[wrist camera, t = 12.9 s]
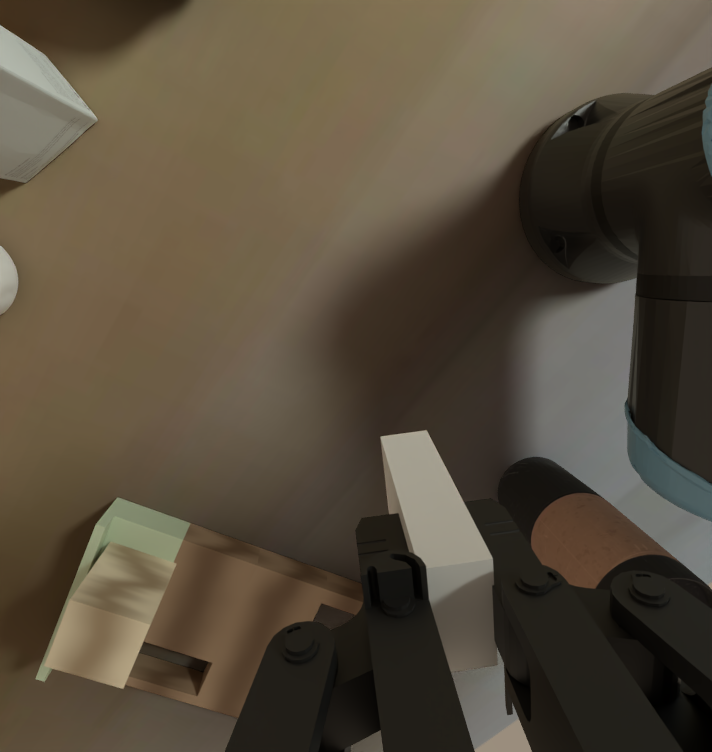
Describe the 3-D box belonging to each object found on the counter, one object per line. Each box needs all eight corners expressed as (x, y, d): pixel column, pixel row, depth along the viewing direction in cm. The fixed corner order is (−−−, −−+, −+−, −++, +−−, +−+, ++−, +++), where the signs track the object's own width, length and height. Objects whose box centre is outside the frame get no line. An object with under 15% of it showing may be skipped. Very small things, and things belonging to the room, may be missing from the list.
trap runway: (390, 593, 53) (394, 613, 50) (326, 718, 55) (327, 743, 52) (190, 523, 49) (183, 539, 46) (132, 659, 52) (121, 683, 49)
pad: (190, 523, 49) (177, 552, 44) (132, 659, 52) (113, 701, 47) (117, 497, 48) (95, 524, 43) (61, 638, 51) (35, 679, 46)
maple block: (176, 563, 47) (150, 624, 39) (153, 618, 48) (123, 688, 40) (110, 541, 46) (69, 599, 38) (88, 597, 47) (44, 665, 39)
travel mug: (583, 492, 52) (747, 632, 33) (523, 539, 53) (648, 704, 33) (541, 438, 50) (687, 551, 31) (479, 487, 51) (584, 629, 32)
